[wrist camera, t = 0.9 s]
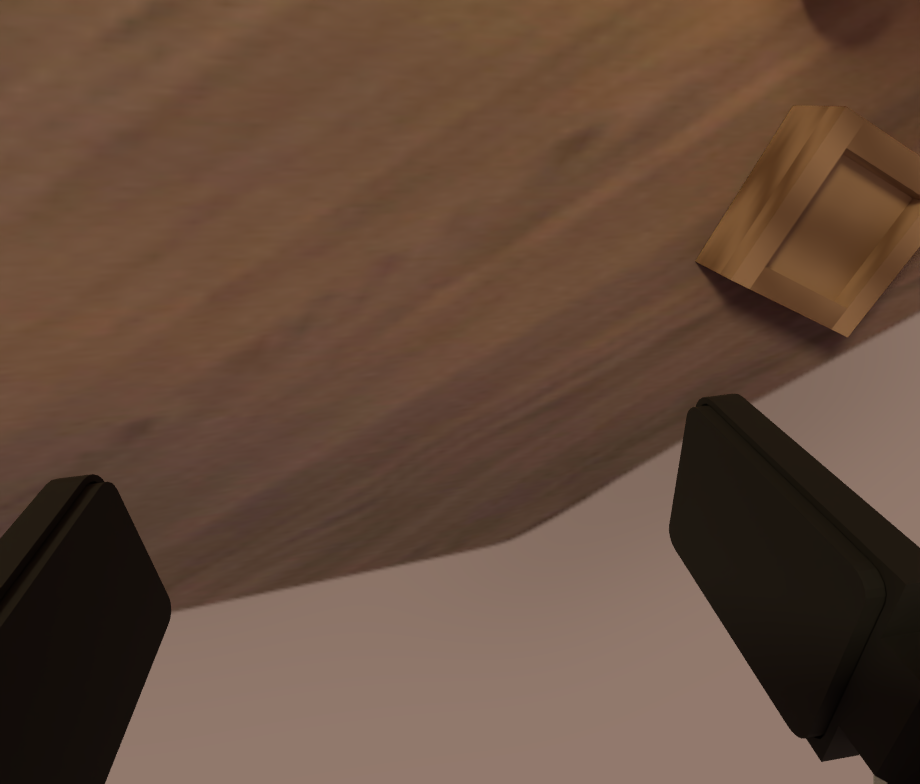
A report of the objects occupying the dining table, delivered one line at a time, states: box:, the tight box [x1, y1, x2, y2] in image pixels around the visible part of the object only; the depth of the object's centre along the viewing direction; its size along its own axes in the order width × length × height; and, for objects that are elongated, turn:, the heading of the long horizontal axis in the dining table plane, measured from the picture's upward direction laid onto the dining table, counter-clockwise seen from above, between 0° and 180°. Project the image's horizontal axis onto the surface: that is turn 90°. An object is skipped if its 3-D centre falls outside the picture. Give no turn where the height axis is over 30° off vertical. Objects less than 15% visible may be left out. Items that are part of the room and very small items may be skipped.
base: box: [695, 105, 920, 337], centre depth 34 cm, size 10×10×4 cm
